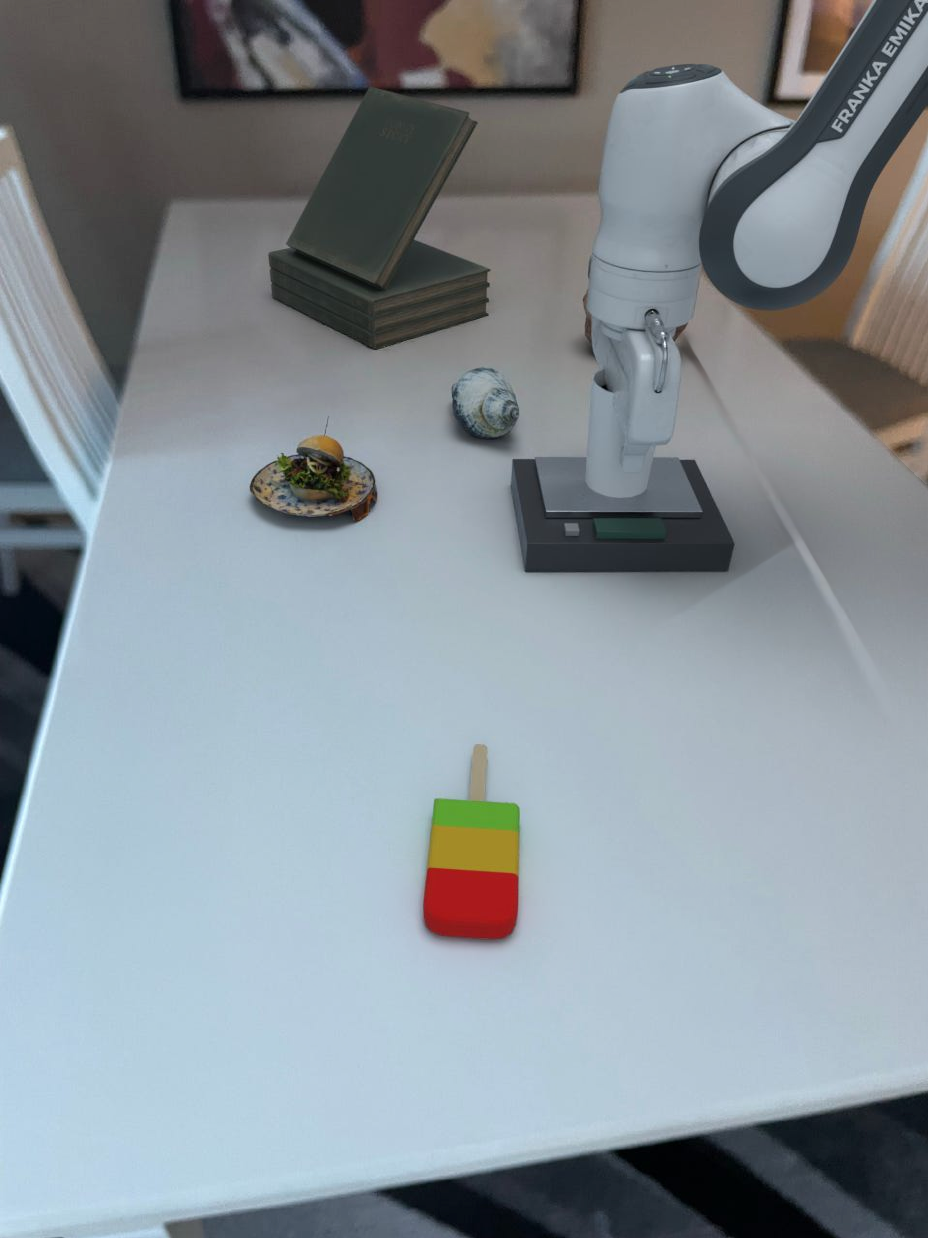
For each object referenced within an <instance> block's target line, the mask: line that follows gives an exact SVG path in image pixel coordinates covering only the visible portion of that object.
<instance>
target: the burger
mask: <svg viewBox="0 0 928 1238" xmlns="http://www.w3.org/2000/svg"><path fill="white" fill-rule="evenodd" d="M329 417H330V416H329V415H327V418H326V419H327V421H326V425H325V429H324V434H318V435H314V436H309V437H307V438H305V439H303V440H302V441H300V442H299V443H298V445H297V446H296V449H295V452H296V454H291V455H288V456H287V455H285V453H284V452H280V454H281V455H280V456H279V455H278V454H277V455H276V460H274V461H272V462H270V463H268V464H266V465H265V466H263V468H261V469H259V470H257V471H256V473H255V475H254V476H253V477H252V480H251V481H250V484H249V492H250V493H251V494H252V495H253V497H254V498H255V500H257V501H258V502H259V503H261V504H262V505H264V506H265V507H267V508H268V507H269V508H270V509H271V508H272V509H274V510H276V511H278V512H280V513H284V514H286V515H293V516H298V517H309V518H313V517H326V516H330V517H331V516H334V515H340V514H343V513H344V512H348V511H351V513H352V514H351V518H352V520H353V521H354V523H358V522H359V521H360V520H361V519H362V518H364V517H366V516H367V515H368V514H370V504H371V499H373V501H374V502H376V501H377V500H378V488H377V484H376V483H377V481H376V478H375V475H374V472H373V471H372V470H371V469H370V468H369V467H368V466H366V465H365V464H363V462H361V461H359V460H356V459H354V458H352V457H350V456H345V454H344V449H343V446H342V445H341V444H340V443H339V442H338V440H336V439H335V438H332V437H331V436H328V435H326V433H327V428H328V423H329Z"/></svg>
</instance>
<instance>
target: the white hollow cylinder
mask: <svg viewBox="0 0 928 1238" xmlns="http://www.w3.org/2000/svg"><path fill="white" fill-rule="evenodd" d="M603 373H604V368H601V369H600V368H599V369H597V370H596V371H594V372H593V373H592V377H591V385H590V400H589V413H588V414H589V416H588V428H587V429H588V431H587V444H586V445H587V446H586V457H587V459H586V474H585V482H586V484H587V486H588V487H589V488H591V489H592V490H593V491H595V492H596V493H599V494H602V495H605V496H609V497H616V498H627V497H633V496H637V495H640V494H641V493H643V492H644V491H645V490H646V489H647V484H648V479H649V475H650V470H651V465H652V461H653V457H654V455H655V451H656V447H657V445H651V446H650V448H649V449H648V451H647V453H646V455H645V459H644V466H643V469H642V471H641V472H639V473H625V472H624V471H623V470H622V467H621V463H620V457H621V447H624V444H625V439H626V438H625V435H624V432H623V429H622V427H621V424H620V421H619V419H618V416H617V413H616V411H615V408H614V405H613V395H614V393H612V392H609V391H608V389H607V387H606V384H605V381H604V375H603Z"/></svg>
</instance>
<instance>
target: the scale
mask: <svg viewBox="0 0 928 1238" xmlns="http://www.w3.org/2000/svg"><path fill="white" fill-rule="evenodd" d="M534 459H535V458H513V459H512V461H511V477H510V488H511V495H512V501H513V506H514V507H513V508H514V513H515V514H514V515H515V519H516V527H517V531H518V538H519V543H520V550H521V556H522V562H523V568H524V572H525V573H554V572H555V573H565V572H566V573H568V572H569V573H587V572H588V573H591V572H592V573H593V572H596V573H597V572H601V573H602V572H606V573H607V572H608V573H614V572H617V573H618V572H619V573H620V572H621V573H622V572H623V573H625V572H626V573H627V572H628V573H629V572H631V573H633V572H636V573H637V572H638V573H639V572H644V573H646V572H647V573H648V572H650V573H653V572H658V573H659V572H665V573H666V572H729V570H730V565H731V561H732V556H733V553H734V548H735V544H736V543H735V541H734V539H733V537H732V534H731V533H730V531H729V528H728V527H727V524H726V522H725V520H724V518H723V516H722V513H721V512H720V509H719V507H718V505H717V503H716V501H715V499H714V497H713V495H712V493H711V490H710V489H709V487H708V485H707V482H706V480H705V478H704V476H703V474H702V472H701V470H700V468H699V465H698V463H697V461H696V460H695V459H679V460H680V462H681V465H682V467H683V469H684V471H685V474H686V476H687V478H688V480H689V482H690V485H691V487H692V489H693V491H694V494H695V496H696V498H697V500H698V503H699V505H700V507H701V509H702V517H701V518H546V517H545V512H544V507H543V503H542V498H541V493H540V488H539V484H538V479H537V474H536V469H535V464H534Z"/></svg>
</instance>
